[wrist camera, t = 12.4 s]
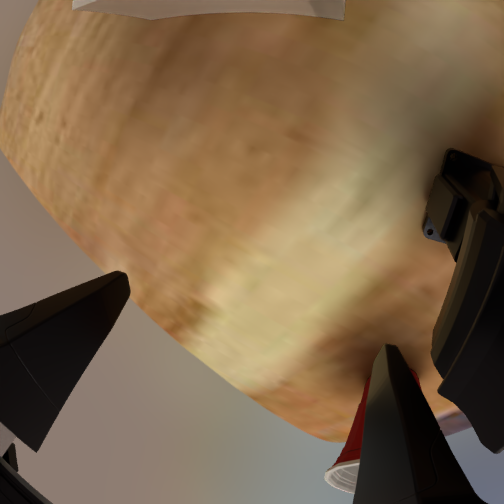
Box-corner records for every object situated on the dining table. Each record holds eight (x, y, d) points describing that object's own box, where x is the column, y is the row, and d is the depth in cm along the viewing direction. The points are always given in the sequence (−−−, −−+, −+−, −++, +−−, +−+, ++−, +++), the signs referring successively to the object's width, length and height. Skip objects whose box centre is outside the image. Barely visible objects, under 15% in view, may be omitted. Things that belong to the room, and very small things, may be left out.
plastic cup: (357, 340, 26) (342, 462, 16) (456, 355, 23) (470, 465, 13) (330, 399, 31) (310, 493, 22) (412, 411, 29) (408, 500, 19)
